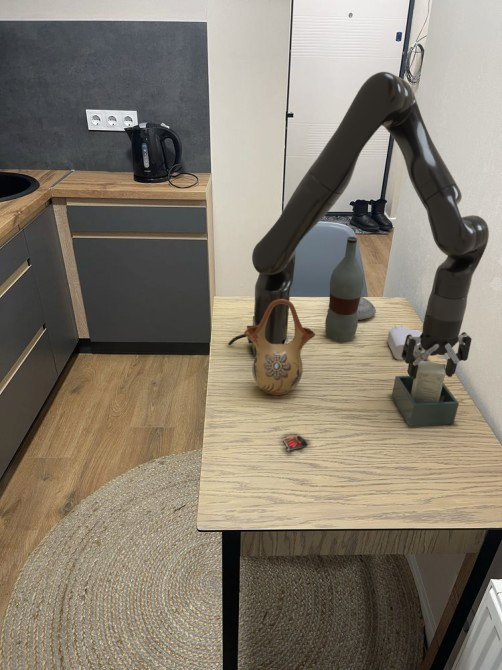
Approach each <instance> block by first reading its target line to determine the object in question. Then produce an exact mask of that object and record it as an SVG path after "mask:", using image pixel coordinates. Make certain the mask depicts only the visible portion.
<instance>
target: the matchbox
mask: <svg viewBox="0 0 502 670" xmlns="http://www.w3.org/2000/svg"><path fill="white" fill-rule="evenodd" d="M282 440H283V443H284V444H285V446H286V447H287V448H286V451H287V452H288V453H290V451H293V450H297V449H301V448H304V447H306V446H309V444H308V442H307V441H306V439H305V438H304V437H302V436H301V435H296V434H294V433H292V434H289V435H287V436H286V437H284V438H282Z"/></svg>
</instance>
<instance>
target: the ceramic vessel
mask: <svg viewBox="0 0 502 670" xmlns="http://www.w3.org/2000/svg"><path fill="white" fill-rule="evenodd" d="M277 304H285V305H288V306H289V311H290V313H291V316H292V320H293V324H294V335H293V338H292V340H291V341H289V342H287V344H271V343H269V342H268V341H267V340H266V338H265V328H266V323H267V320H268V317H269V315H270V313H271V311H272V309H273V307H274V306H275V305H277ZM252 326H253V325H252ZM243 334H245V335H246V336H247V337H248V338H249V339H250V340H251V341H252V342H253V343H254V345H255V346H256V356H254V358H253V361H252V368H251V371H252V377H253V380H254V382H255V384H256V385H257V386H258V388H259V389H261V390H262V392H265V393H267V394H268V395H272V396H281V395H284V394H288V393H290V392H291V391H292V390H294V389H295V388H296V387H297V386H298V385H299V383H300V381H301V379H302V376H303V373H304V363H303V360H302V357H301V355H302V349H303V348H304V347H305V345H306V344H307V343H308V342H309V341H311V339H314V338H315V336H316V333H315V332H314V331H313V330H312V329H311V328H309V327H305V326H303V325H302V323H301V321H300V318H299V316H298V312H297V310H296V307H295V305H294V304H293V303H292V302H291V301H290V300H289V301H288V300H286V299H277V300H274V301H273V302H271V303H270V305H269V306H268V308H267V310H266V312H265V314H264V316H263V319H262V321H261V322H260V324H259V325H258V326H257V327H256V326H253V327H250V328H248V329H247V328H246V329H245V330H244V331H243ZM247 337H246V338H247ZM248 338H247V339H248Z"/></svg>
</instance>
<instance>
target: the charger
mask: <svg viewBox="0 0 502 670" xmlns="http://www.w3.org/2000/svg"><path fill="white" fill-rule="evenodd" d="M409 334H410V335H412V336H413V337H420V335H421V334H422V331H421V330H419V329H410V328H408V327H407V326H403V325H400V326H397V325H395V326H394V327H392V328H391V329H390V330H388V335H387V339H386V343H387V344H388V347H389V349H390V351H391V353H392V356H393V357H394V359H396V360H401V361H404V359H403V358H402V352H403V348H404V344H405V340H406V337H407V335H409ZM419 344H420V343H418V344H417V346H418V345H419ZM415 348H416V347H415ZM415 348H414V351H415ZM422 352H423V353H424V352H425V350H424V349H423V350H422ZM417 357H418V356H417ZM417 357H416V358H417ZM428 359H429V356H428V357H427V358H426V359H423V360H422V361H427V360H428Z"/></svg>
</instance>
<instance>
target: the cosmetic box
mask: <svg viewBox="0 0 502 670" xmlns="http://www.w3.org/2000/svg"><path fill="white" fill-rule="evenodd" d="M445 368H446V364H444V363H439V362H433V361H427V360H422V361H421V362H420V363H419V364H418V370H417V375H416V379H414V381H413V386H412V390H411V397H412V398H413V400H414V401H415V403H435V402H439V398H440V394H441V390H442V386H443V383H444V381H445V379H446V374H445Z"/></svg>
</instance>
